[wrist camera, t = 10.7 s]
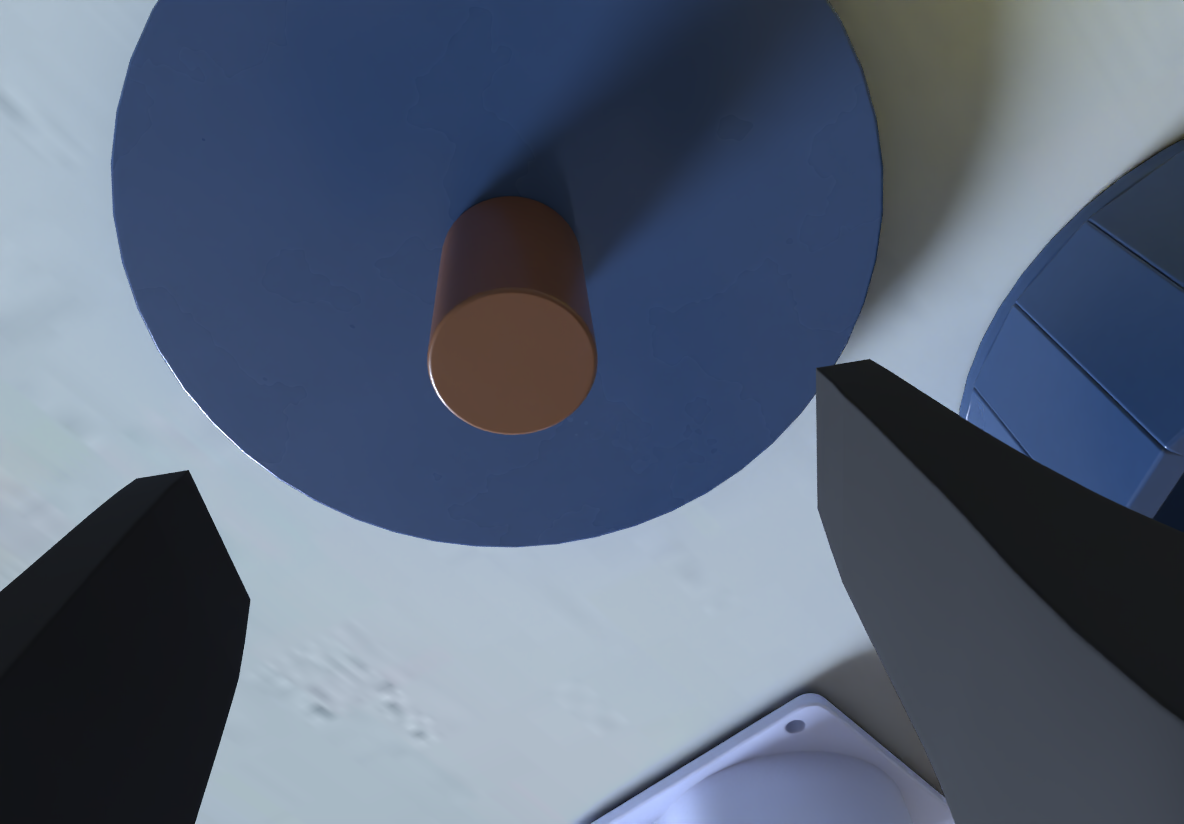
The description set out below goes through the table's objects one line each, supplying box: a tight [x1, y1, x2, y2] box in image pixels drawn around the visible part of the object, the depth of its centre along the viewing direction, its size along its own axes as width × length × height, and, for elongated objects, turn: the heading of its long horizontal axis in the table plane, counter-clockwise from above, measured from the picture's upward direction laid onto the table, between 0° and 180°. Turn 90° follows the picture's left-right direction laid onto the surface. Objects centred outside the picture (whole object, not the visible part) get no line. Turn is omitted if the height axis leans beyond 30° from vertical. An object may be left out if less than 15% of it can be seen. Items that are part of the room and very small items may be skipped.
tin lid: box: [111, 0, 883, 547], centre depth 15 cm, size 13×13×5 cm
